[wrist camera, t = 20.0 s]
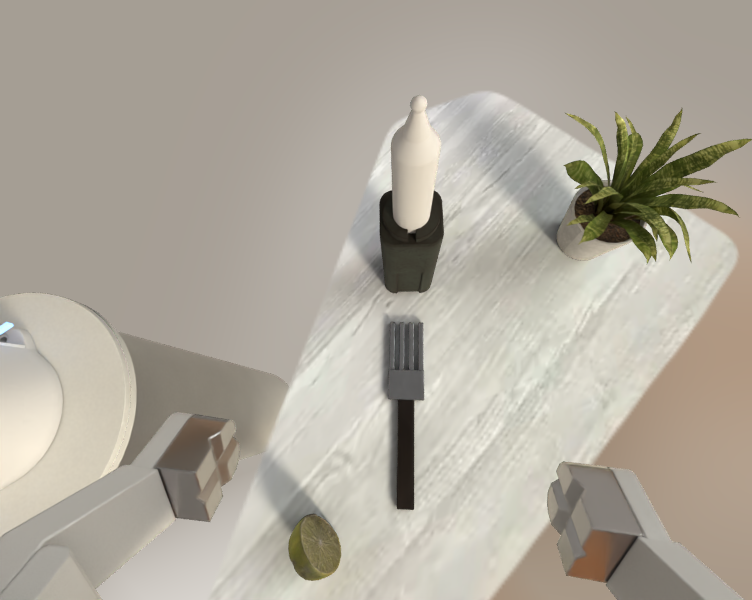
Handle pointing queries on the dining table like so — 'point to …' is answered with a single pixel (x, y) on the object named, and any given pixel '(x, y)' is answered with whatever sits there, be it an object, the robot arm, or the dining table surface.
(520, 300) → the dining table surface
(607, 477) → the robot arm
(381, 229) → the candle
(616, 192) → the house plant
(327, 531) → the lime
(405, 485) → the fork
